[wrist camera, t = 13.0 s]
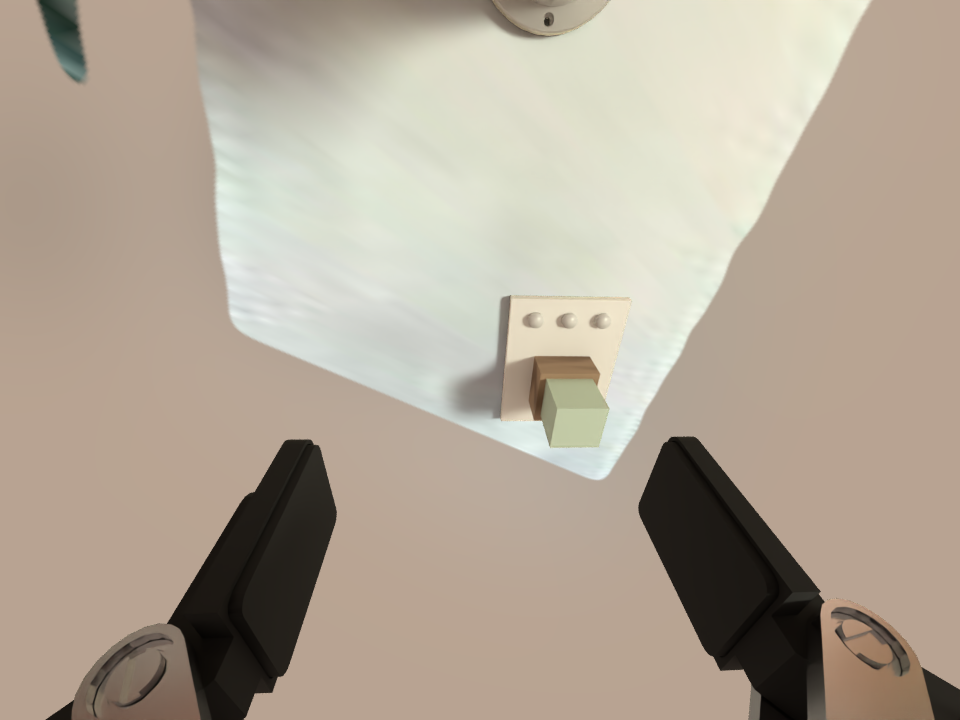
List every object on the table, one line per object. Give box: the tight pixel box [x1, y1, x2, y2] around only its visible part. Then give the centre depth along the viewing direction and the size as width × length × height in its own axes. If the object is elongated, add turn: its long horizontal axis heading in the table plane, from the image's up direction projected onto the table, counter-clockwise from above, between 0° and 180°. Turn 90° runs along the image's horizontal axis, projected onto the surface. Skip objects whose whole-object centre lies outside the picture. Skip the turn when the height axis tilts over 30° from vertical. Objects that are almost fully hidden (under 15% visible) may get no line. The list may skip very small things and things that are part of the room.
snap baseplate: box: [500, 295, 632, 421], centre depth 46 cm, size 18×14×2 cm
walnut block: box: [529, 356, 600, 421], centre depth 45 cm, size 7×7×4 cm
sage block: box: [541, 379, 609, 448], centre depth 41 cm, size 6×6×6 cm
